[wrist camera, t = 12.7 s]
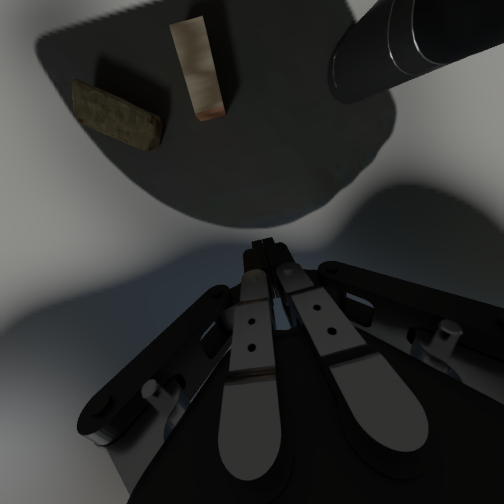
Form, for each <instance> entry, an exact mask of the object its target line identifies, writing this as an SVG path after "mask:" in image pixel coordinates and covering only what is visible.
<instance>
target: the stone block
mask: <svg viewBox="0 0 504 504" xmlns="http://www.w3.org/2000/svg"><path fill="white" fill-rule="evenodd" d="M72 99H73V108H74V113H75V114H76V116H77V118H78V121H79V122H80V123H81V124H83V125H85V126H87V127H89V128H92V129H94V130H97V131H99V132H101V133H104V134H106V135H109V136H111V137H113V138H116V139H118V140H121V141H123V142H125V143H127V144H129V145H131V146H134V147H136V148H139V149H141V150H145V151H155V150H157V148H158V147H159V145H160V140H161V132H162V128H163V122H162V119H161V118H160V116H158V115H156V114H153V113H151V112H149V111H147V110H144V109H142V108H140V107H137V106H135V105H134V104H132V103H130V102H128V101H126V100H124V99H122V98H120V97H117V96H115V95H113V94H111V93H108V92H106V91H104V90H102V89H99V88H97V87H95V86H92V85H90V84H88V83H86V82H83V81H81V80H78V79H76V80H74V81H73V83H72Z"/></svg>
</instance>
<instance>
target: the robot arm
mask: <svg viewBox="0 0 504 504" xmlns="http://www.w3.org/2000/svg"><path fill="white" fill-rule="evenodd" d="M502 43H504V0H378V1H377V2H376V3H375V5H374V6H373V7H372V8H371V9H370V10H369V11H368V12H367V13H366V14H365V15H364V16H363V17H362V18H361V19H360V20H359V21H358V22H357V23H356V24H355V25H354V26H353V28H352V29H351V30H350V31H349V32H348V33H347V34H346V35H345V36H344V37H343V38H342V39H341V41H340V42H339V43H338V44H337V46H336V48H335V49H334V51H333V53H332V56H331V59H330V62H329V67H328V83H329V87H330V90H331V92H332V94H333V95H334V97H335V98H336V99H337V100H339V101H340V102H343V103H354V102H358V101H360V100H363V99H365V98H367V97H370V96H373V95H375V94H378V93H380V92H382V91H385V90H387V89H390V88H392V87H395V86H397V85H400V84H402V83H404V82H407V81H409V80H412V79H414V78H417V77H419V76H421V75H424V74H426V73H429V72H431V71H433V70H436V69H438V68H441V67H443V66H445V65H448V64H451V63H453V62H456V61H458V60H461V59H463V58H466V57H468V56H470V55H473V54H476V53H479V52H482V51H484V50H487V49H489V48H492V47H495V46H497V45H500V44H502ZM262 241H263V244H262ZM263 246H264V247H263ZM252 248H253V249H248V250H245V252H244V253H243V261H244V275H243V276H242V281H241V283H240V284H238V285H237V286H235V287H233V288H231V289H229V287H228V286H226V285H216V286H214V287H212V288H210V289H209V290H208V291H206V292H205V293H204V294H203V295H202V296H201V297H200V298H199V299H198V300H197V301H196V302H195V303H194V304H192V305H191V306H190V307H189V308H188V309H187V310H186V311H185V312H184V313H183V314H182V315H180V317H178V318H177V319H176V320H175V321H174V322H173V323H172V324H171V325H170V326H169V327H168V328H167V329H165V330H164V331H163V332H162V333H161V334H160V335H159V336H158V337H157V338H156V339H155V340H153V341H152V342H151V343H150V344H149V345H148V346H147V347H146V348H145V349H144V350H143V351H142V352H141V353H139V354H138V355H137V356H136V357H135V358H134V359H133V360H132V361H131V362H130V363H129V364H128V365H126V366H125V367H124V368H123V369H122V370H121V371H120V372H119V373H118V374H117V375H116V376H115V377H114V378H113V379H111V380H110V381H109V382H108V383H107V384H106V385H105V386H104V387H103V388H102V389H101V390H99V392H97V393H96V394H95V395H94V396H93V397H92V398H91V399H90V400H89V402H88V403H87V404H86V406H85V407H84V409H83V410H82V412H81V414H80V416H79V418H78V422H77V430H78V433H79V434H81V435H82V436H84V437H86V438H88V439H89V440H91V441H93V442H94V443H95V445H96V446H98V447H100V448H101V449H103V450H105V451H107V452H108V453H109V455H110V457H111V459H112V461H113V463H114V465H115V467H116V469H117V471H118V473H119V475H120V477H121V478H122V480H123V482H124V485H125V486H126V488H127V490H128V492H129V494H130V498H129V500H128V502H127V504H504V308H500V307H497V306H494V305H490V304H487V303H483V302H479V301H476V300H472V299H469V298H465V297H462V296H458V295H455V294H451V293H448V292H444V291H440V290H436V289H433V288H430V287H426V286H423V285H419V284H415V283H412V282H408V281H405V280H401V279H398V278H394V277H391V276H387V275H383V274H380V273H376V272H373V271H369V270H365V269H361V268H359V267H355V266H351V265H348V264H344V263H340V262H337V261H327V262H324V263H322V264H320V265H319V267H318V270H306V269H303V268H302V267H301V266H300V265H299V264H298V263H295V261H294V259H293V257H292V256H291V253H290V252H289V250H288V248H287V246H286V245H285V244H284V243H282V242H279V243H275V242H274V240H273V238H272V237H270V238H266V239H262V240H257V241H253V242H252ZM273 287H274V288H273ZM274 290H275V293H274ZM346 293H349V294H352V295H355V296H357V297H360V298H363V299H365V300H367V301H369V302H370V303H371V304H372V305H373V307H374V308H372V307H369V306H367V305H365V304H362V303H360V302H357V301H355V300H352V299H350V298H347V297H346ZM275 294H276V297H277V298H279V297H280V298H281V302H282V307H283V310H284V312H285V315H286V317H287V320H288V322H289V325H290V327H291V329H289V330H277V329H276V322H275V314H274V308H273V306H274V303H273V299H274V298H275ZM214 321H215V325H214V326H213V327H212V328H211V329H210V331H208V333H207V334H206V335H205V336H204V337H203V338H202V339H201V337H202V335H203V333H204V332H205V331H206V330H207V329H208V328H209V327H210V326H211V324H212V323H213V322H214ZM200 339H201V341H200ZM231 344H232V346H231V349H230V350H229V351H228V352H227V353H226V354H225V352H226V351H227V350H228V348H229V347H230V345H231ZM224 354H225V355H224ZM223 355H224V356H223ZM222 356H223V357H222ZM221 358H222V359H221ZM220 359H221V360H220ZM218 362H219V363H218ZM217 363H218V364H217ZM216 364H217V366H216ZM215 366H216V367H215ZM214 367H215V369H214ZM213 369H214V370H213ZM212 370H213V372H212V373H211V371H212ZM210 373H211V374H210ZM209 374H210V376H209V377H208V375H209ZM207 377H208V379H207V380H206V378H207ZM205 380H206V382H205V383H204V385H203V386H202V388H201V389H200V391H199V392H198V393H197V395H196V396H195V398H194V399H193V401H192V402H191V404H190V400H191V399H192V397H193V396H194V395H195V393H196V392H197V390H198V389H199V388H200V387H201V385H202V384H203V382H204V381H205Z"/></svg>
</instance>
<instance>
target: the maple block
mask: <svg viewBox="0 0 504 504" xmlns="http://www.w3.org/2000/svg"><path fill="white" fill-rule="evenodd" d="M169 26H170V29H171V33H172V36H173V40H174V43H175V46H176V50H177V53H178V56H179V60H180V63H181V67H182V70H183V73H184V77H185V80H186V84H187V87H188V90H189V94H190V97H191V100H192V104H193V107H194V111H195V114H196V117H197V118H198V119H199V120H200V121H204V120H208V119H212V118H216V117H220V116H224V115H226V114H225V110H224V105H223V101H222V97H221V92H220V88H219V84H218V79H217V75H216V71H215V66H214V62H213V58H212V53H211V49H210V45H209V40H208V36H207V32H206V28H205V24H204V20H203V16H201V17H197V18H193V19H190V20H186V21H183V22H179V23H175V24H172V25H169Z"/></svg>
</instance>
